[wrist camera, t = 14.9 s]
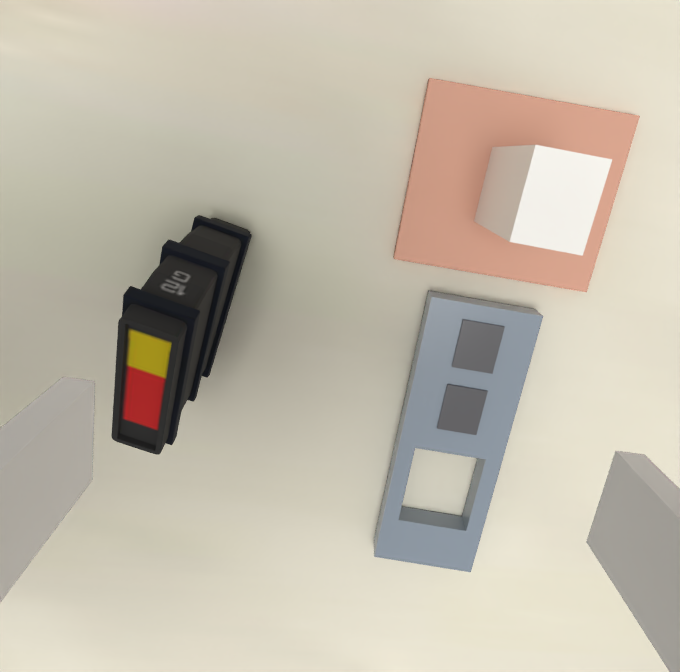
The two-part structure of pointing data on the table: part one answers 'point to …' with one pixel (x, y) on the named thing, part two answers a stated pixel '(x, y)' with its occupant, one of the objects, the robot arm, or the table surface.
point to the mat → (470, 169)
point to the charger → (542, 196)
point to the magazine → (174, 331)
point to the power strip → (456, 421)
